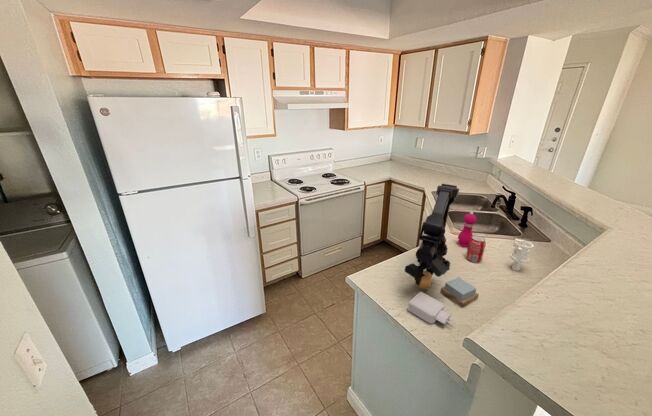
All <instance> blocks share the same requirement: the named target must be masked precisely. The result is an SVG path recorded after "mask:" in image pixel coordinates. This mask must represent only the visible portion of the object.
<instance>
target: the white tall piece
mask: <svg viewBox="0 0 652 416" xmlns="http://www.w3.org/2000/svg"><path fill="white" fill-rule="evenodd" d="M519 243H521V244H519ZM528 245H529V246H528ZM513 247H514V249H513V251H512V252H511V253H510V255H509V258H510V259H511V260H512V261H513V263H512V265H511V269H512V270H513V271H518V272H519V271H520V269H521V266H522V264H527V263H528V262H529V254H530V250H533V248H534V244H533V243H531V242H530V241H528V240H525V239H518V238H515V239H514V243H513Z"/></svg>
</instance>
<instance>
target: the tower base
mask: <svg viewBox="0 0 652 416" xmlns="http://www.w3.org/2000/svg"><path fill="white" fill-rule="evenodd" d="M444 288H445V285H444V286H442V287H441V288H440V292H439V293H440V294H441V295H442V296H443V297H445V298H447V299H448V300H450V301H452V303H454V304H455V305H457V306H458V307H459V308H461V309H463V308H465V307H467V306H468V305H470V304H472V303H473V302H475V301H476V300H478V298H479V293H478V292H477V291H476V292H475V295H473V296H471V297H469V298H466V299H464V300H462V301H461V300H459V299H458V298H457V297H455V296H454V295H453V294H451V293H450V292H448V291H447V290H446V289H444Z"/></svg>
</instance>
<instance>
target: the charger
mask: <svg viewBox="0 0 652 416" xmlns="http://www.w3.org/2000/svg"><path fill="white" fill-rule="evenodd" d="M444 309H445V305H444V303H443V302H441V301H440V300H437V299H435V298H434V297H432V296H430V295H428V294H426V293H425V292H423V291H419V292H418V293H417V294H416V295H415V296H414V297H413V298H412V299H410V301H409V302H408V308H407V311H409V312H410V313H412V314H413V315H415V316H417V317H418V318H419V319H421V320H423V321H425V322H426V323H428V324H435V323H436V321H438V322H440V323H441V324H443V325H446V324H447V323H448V324H449V325H454V324H453V323H455V322H456V321H455V320H454V319H452V318H451V317H452V315H451V314H449V313H448V312H446V311H444ZM451 321H452V322H453V323H452V322H451Z"/></svg>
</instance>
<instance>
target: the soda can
mask: <svg viewBox="0 0 652 416" xmlns="http://www.w3.org/2000/svg"><path fill="white" fill-rule="evenodd" d="M486 244H487V243H486V238H485V237H483V236H481V235H473V236H472V238H471V239H470V241H469V245H468V248H466V249H467V250H466V253H465V254H466V255H465V257H466V259H467V260H469V262H473V263H478V262H481V261H482V259H483V255H484V252H485V248H486Z"/></svg>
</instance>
